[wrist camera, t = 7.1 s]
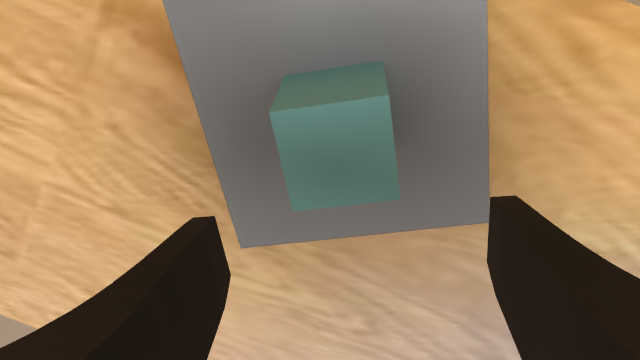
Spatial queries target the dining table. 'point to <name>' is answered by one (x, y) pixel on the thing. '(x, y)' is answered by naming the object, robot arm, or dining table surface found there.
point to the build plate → (331, 52)
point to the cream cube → (633, 2)
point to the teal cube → (336, 137)
